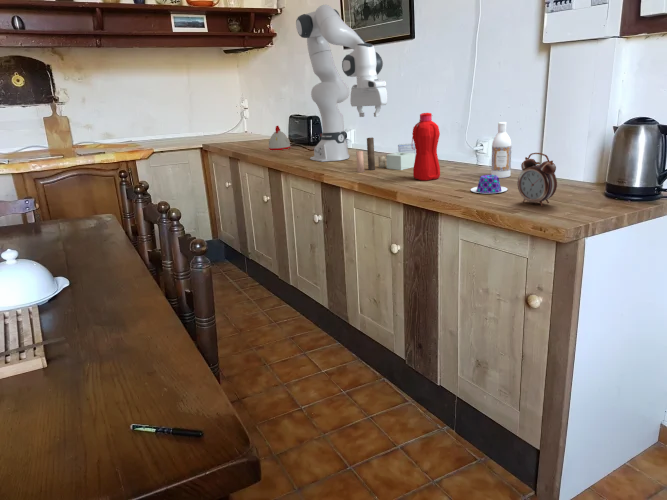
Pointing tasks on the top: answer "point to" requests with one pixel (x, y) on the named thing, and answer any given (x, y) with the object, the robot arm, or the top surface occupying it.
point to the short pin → (381, 161)
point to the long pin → (370, 153)
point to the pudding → (489, 185)
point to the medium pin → (360, 161)
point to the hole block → (400, 160)
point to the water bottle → (426, 148)
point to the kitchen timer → (279, 140)
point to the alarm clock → (537, 180)
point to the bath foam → (501, 153)
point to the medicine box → (407, 148)
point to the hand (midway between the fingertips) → (369, 116)
